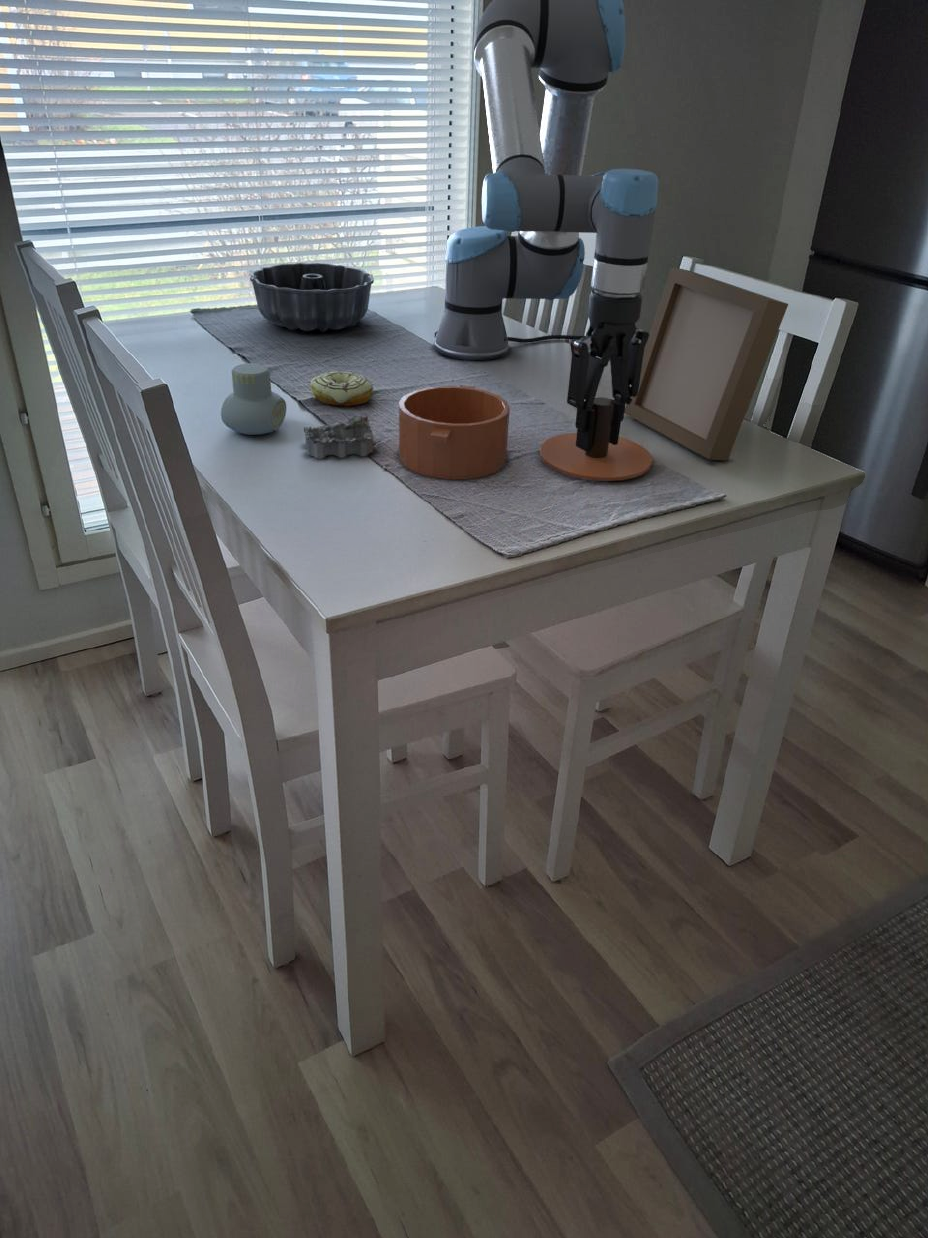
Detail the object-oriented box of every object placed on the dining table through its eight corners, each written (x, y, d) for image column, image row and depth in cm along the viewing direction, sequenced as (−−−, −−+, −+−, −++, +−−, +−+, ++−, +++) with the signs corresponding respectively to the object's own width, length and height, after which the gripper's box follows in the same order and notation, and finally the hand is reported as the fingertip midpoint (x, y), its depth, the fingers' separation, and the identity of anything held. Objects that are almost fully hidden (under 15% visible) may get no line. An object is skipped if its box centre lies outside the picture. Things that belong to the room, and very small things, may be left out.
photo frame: (707, 465, 143) (740, 303, 129) (622, 418, 159) (644, 268, 145) (775, 449, 150) (813, 293, 136) (687, 406, 165) (714, 262, 151)
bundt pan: (329, 300, 216) (327, 256, 210) (398, 326, 200) (398, 279, 194) (230, 317, 200) (226, 270, 195) (298, 347, 184) (295, 296, 179)
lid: (652, 445, 149) (661, 388, 144) (650, 490, 134) (660, 428, 129) (545, 433, 151) (551, 377, 146) (532, 476, 137) (538, 415, 131)
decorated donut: (345, 413, 155) (344, 392, 153) (299, 399, 160) (298, 378, 158) (384, 397, 162) (383, 376, 160) (339, 383, 167) (338, 363, 165)
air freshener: (267, 444, 143) (262, 382, 137) (218, 438, 144) (211, 376, 138) (291, 419, 152) (287, 360, 146) (244, 414, 153) (238, 355, 147)
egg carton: (371, 439, 146) (370, 415, 144) (375, 458, 140) (375, 433, 138) (304, 440, 145) (303, 416, 142) (305, 460, 139) (304, 434, 136)
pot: (514, 436, 150) (518, 386, 145) (493, 492, 132) (497, 437, 127) (416, 425, 152) (417, 376, 147) (382, 479, 134) (382, 425, 129)
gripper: (644, 278, 136) (622, 426, 148) (550, 291, 127) (536, 447, 140) (680, 290, 130) (655, 442, 143) (585, 304, 122) (567, 465, 135)
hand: (596, 444), depth 141 cm, fingers open, 5 cm apart
